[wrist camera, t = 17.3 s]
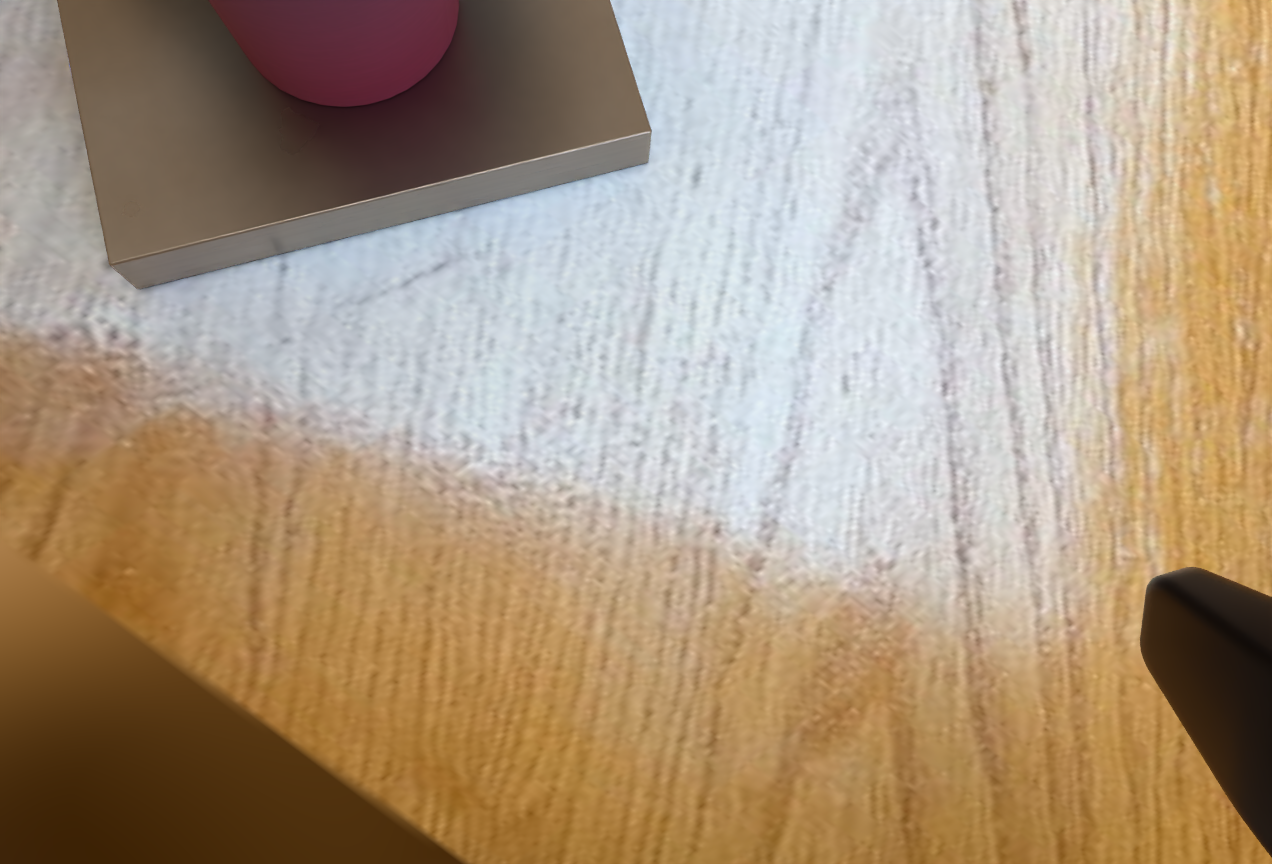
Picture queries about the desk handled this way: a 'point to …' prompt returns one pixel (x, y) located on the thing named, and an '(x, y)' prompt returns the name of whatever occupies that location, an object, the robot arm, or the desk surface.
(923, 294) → the desk surface
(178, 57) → the grey tray
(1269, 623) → the robot arm
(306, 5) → the cup
